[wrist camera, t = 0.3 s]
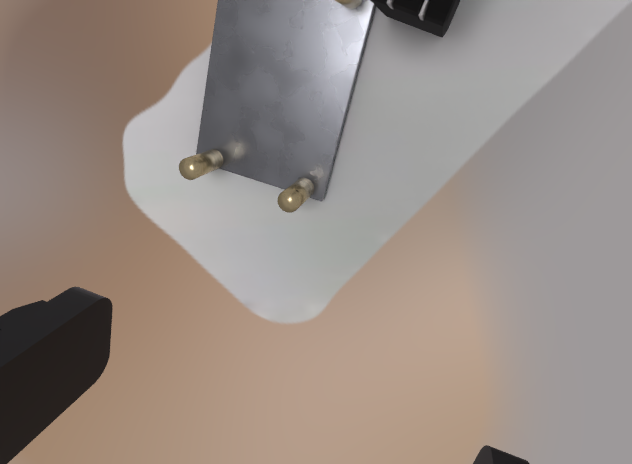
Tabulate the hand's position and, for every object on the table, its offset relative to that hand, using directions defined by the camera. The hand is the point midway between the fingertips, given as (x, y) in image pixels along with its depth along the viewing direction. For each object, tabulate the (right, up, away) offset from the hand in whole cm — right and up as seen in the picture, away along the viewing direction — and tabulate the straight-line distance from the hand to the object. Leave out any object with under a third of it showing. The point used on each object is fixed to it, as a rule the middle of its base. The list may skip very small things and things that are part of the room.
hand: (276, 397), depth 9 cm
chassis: (-2, +15, +25) cm, 29 cm away
